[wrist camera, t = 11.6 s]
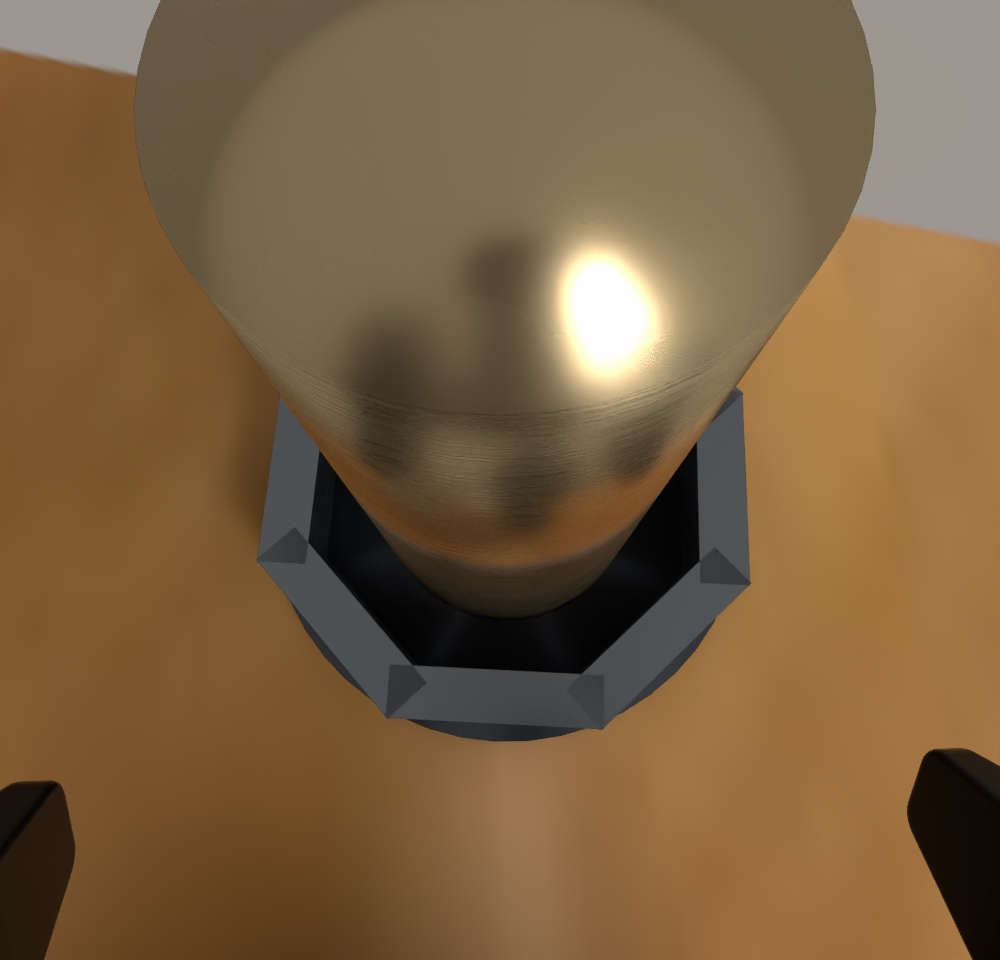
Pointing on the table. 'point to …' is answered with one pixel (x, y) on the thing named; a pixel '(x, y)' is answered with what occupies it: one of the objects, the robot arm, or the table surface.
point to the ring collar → (509, 644)
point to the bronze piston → (504, 243)
